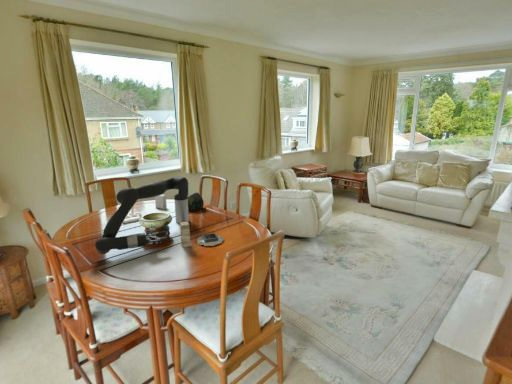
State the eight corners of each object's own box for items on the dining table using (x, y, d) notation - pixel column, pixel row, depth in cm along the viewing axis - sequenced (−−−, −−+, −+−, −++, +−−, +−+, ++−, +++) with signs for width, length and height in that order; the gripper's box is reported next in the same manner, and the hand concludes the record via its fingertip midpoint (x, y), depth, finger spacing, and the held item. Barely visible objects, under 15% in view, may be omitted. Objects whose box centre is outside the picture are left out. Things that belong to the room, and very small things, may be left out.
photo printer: (167, 208, 244) (166, 193, 241) (163, 209, 241) (162, 195, 238) (158, 206, 249) (157, 192, 246) (154, 207, 246) (153, 193, 243)
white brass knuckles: (119, 225, 207) (114, 219, 218) (145, 220, 218) (139, 215, 229) (119, 221, 206) (113, 215, 217) (144, 215, 217) (138, 210, 228)
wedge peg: (181, 244, 176) (179, 222, 172) (188, 243, 177) (187, 221, 174) (182, 247, 172) (181, 225, 168) (190, 246, 173) (189, 224, 170)
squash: (179, 203, 239) (188, 191, 232) (191, 199, 251) (200, 188, 245) (189, 216, 236) (199, 205, 229) (201, 212, 249) (210, 201, 242)
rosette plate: (194, 238, 184) (194, 233, 184) (218, 234, 191) (218, 229, 190) (200, 248, 170) (200, 243, 169) (226, 243, 177) (226, 238, 176)
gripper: (136, 239, 155) (168, 234, 161) (135, 229, 167) (164, 225, 174) (138, 252, 156) (169, 246, 163) (136, 242, 169) (165, 237, 176)
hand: (166, 235), depth 168 cm, fingers open, 8 cm apart
